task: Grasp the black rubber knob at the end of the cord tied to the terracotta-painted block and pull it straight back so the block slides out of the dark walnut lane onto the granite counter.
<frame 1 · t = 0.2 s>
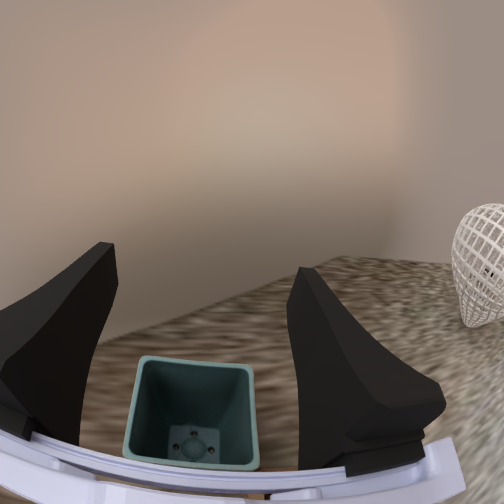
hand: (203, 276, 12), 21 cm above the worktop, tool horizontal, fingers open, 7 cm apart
flower pot: (194, 450, 24), on the worktop
heart: (467, 324, 43), on the worktop
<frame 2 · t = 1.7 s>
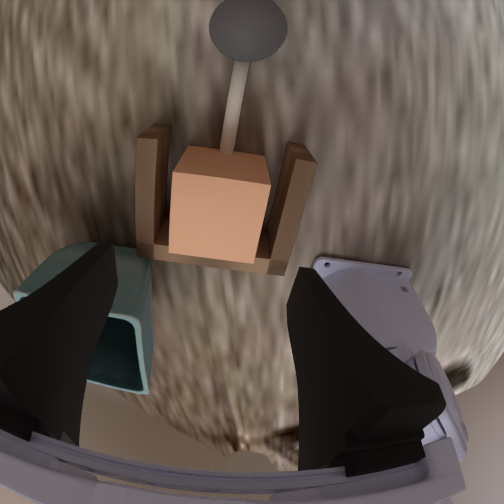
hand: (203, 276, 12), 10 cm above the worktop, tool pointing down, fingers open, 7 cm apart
tethered block: (221, 184, 21), on the worktop
flower pot: (118, 266, 25), on the worktop
lane: (221, 184, 21), on the worktop
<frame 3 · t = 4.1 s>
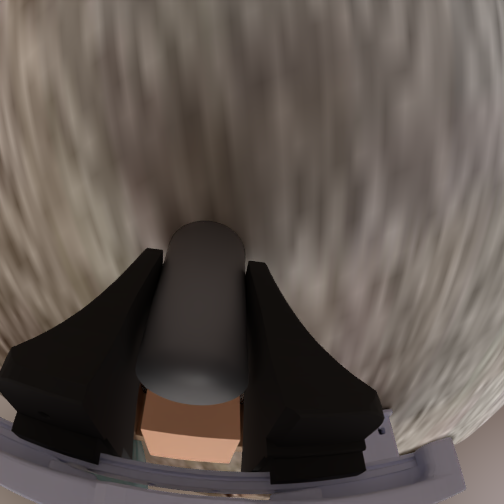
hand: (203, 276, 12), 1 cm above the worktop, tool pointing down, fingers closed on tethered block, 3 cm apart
tethered block: (195, 379, 19), on the worktop, touching gripper
flower pot: (106, 409, 23), on the worktop
lane: (195, 379, 19), on the worktop
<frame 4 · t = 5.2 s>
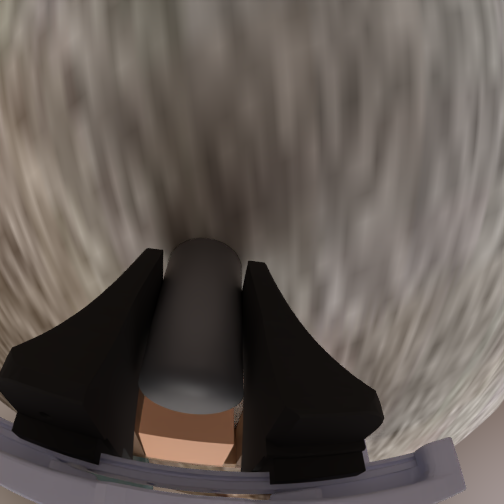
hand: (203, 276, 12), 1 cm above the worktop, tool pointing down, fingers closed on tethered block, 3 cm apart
tethered block: (190, 384, 19), on the worktop, touching gripper
flower pot: (116, 429, 25), on the worktop
lane: (193, 410, 21), on the worktop
when the fingers open (1 cm above the worktop, at t = 6.7 s): tethered block stays where it is, on the worktop.
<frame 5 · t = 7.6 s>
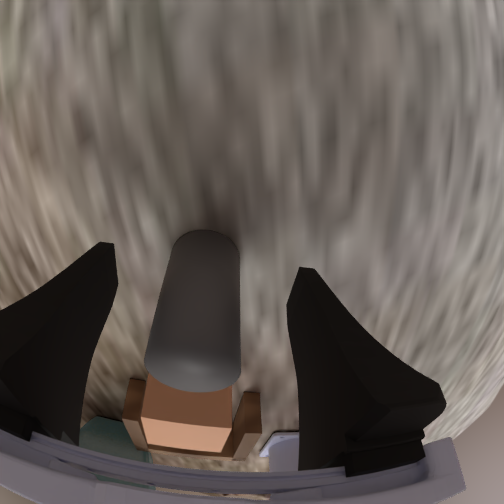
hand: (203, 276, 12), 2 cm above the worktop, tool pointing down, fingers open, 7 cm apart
tethered block: (190, 372, 20), on the worktop
flower pot: (121, 425, 27), on the worktop
lane: (193, 407, 23), on the worktop
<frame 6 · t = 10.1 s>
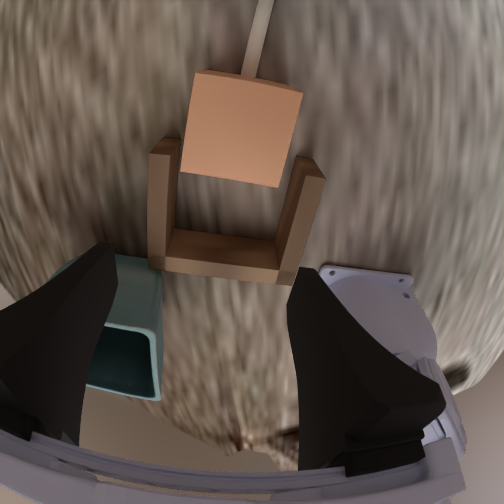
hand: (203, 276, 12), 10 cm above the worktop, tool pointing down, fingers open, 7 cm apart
tethered block: (239, 113, 18), on the worktop
flower pot: (127, 274, 25), on the worktop
lane: (230, 197, 21), on the worktop
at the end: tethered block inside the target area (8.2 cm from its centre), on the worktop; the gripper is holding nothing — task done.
